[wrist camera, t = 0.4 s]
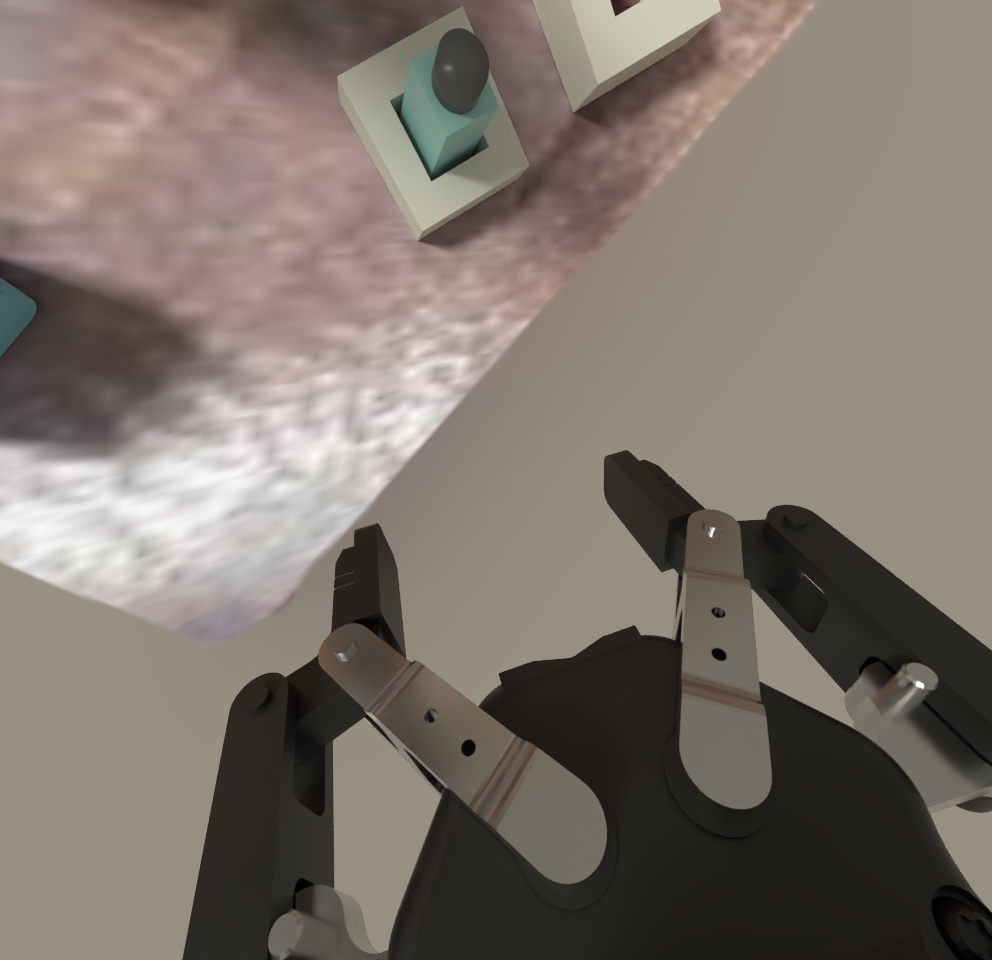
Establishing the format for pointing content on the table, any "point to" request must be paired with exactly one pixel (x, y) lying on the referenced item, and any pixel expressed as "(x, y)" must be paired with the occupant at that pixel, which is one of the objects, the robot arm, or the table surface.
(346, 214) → the table surface
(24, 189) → the table surface
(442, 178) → the holster
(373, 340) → the table surface
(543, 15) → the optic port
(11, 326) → the data package
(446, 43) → the plug
